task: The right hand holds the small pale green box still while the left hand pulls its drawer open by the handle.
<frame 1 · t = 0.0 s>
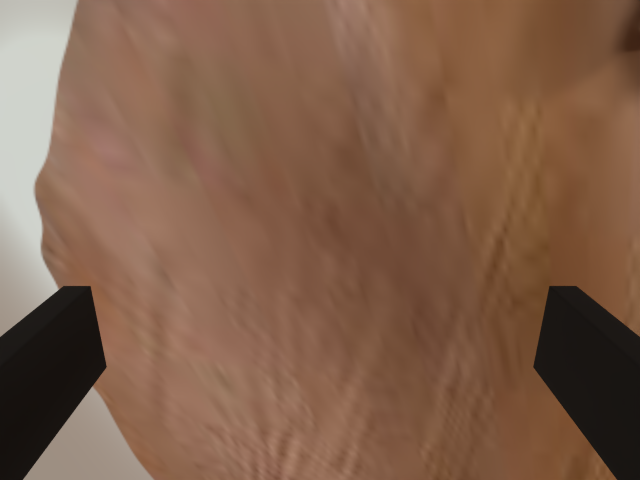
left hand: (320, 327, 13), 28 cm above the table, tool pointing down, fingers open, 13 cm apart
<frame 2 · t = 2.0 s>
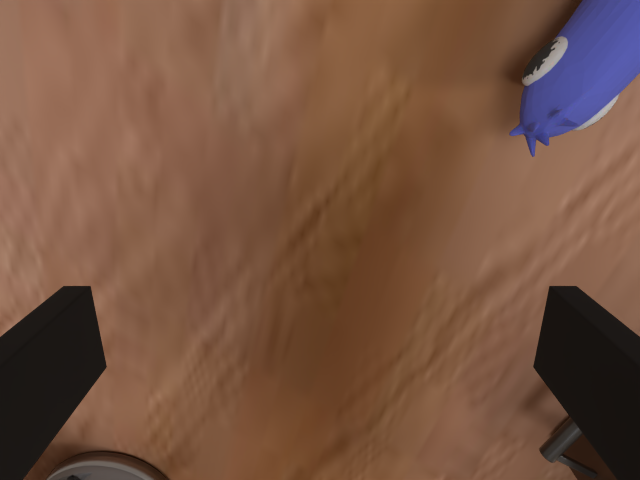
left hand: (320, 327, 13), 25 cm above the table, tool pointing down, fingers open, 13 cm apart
toy: (607, 2, 32), on the table
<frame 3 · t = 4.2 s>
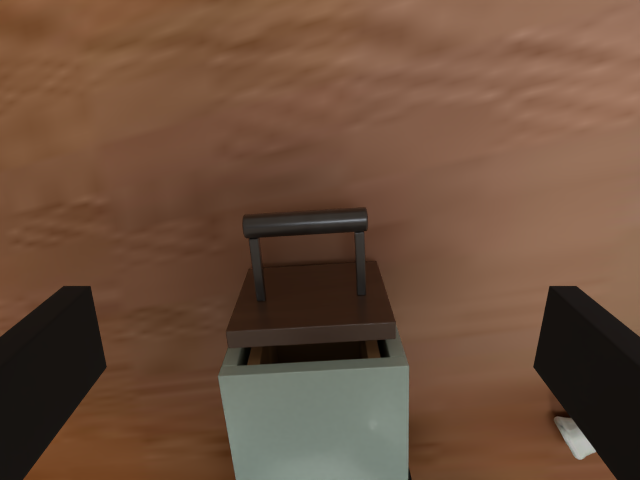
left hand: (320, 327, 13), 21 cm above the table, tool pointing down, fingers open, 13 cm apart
pale green box: (321, 377, 39), on the table, touching right hand
drawer: (316, 357, 32), point 6 cm above the table, slide at 1.2 cm
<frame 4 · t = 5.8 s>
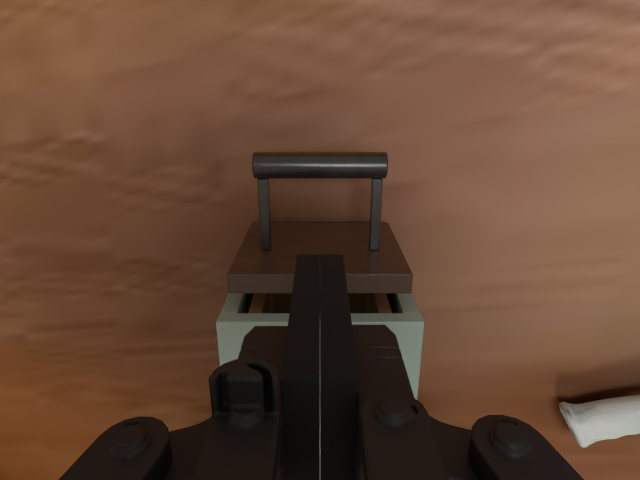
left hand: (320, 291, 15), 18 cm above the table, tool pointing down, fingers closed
pale green box: (319, 346, 37), on the table, touching right hand
drawer: (320, 318, 30), point 6 cm above the table, slide at 1.2 cm
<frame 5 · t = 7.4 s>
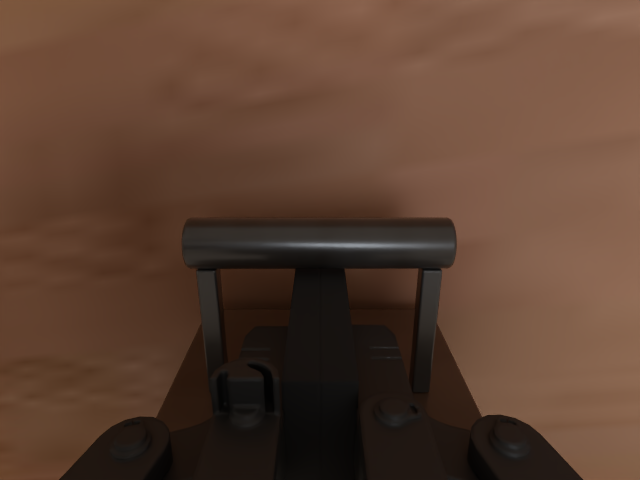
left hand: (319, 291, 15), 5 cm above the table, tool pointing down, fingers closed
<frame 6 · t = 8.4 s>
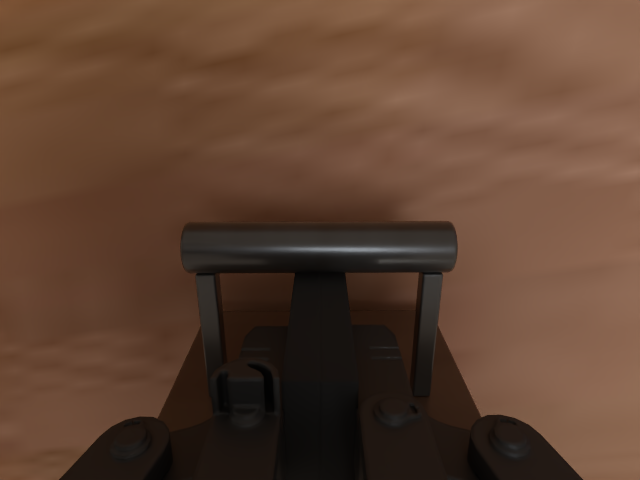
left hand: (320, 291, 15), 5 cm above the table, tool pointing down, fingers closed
when the right hand's fingers open (7 cm above the table, at t = 10.3 s): pale green box stays where it is, on the table.
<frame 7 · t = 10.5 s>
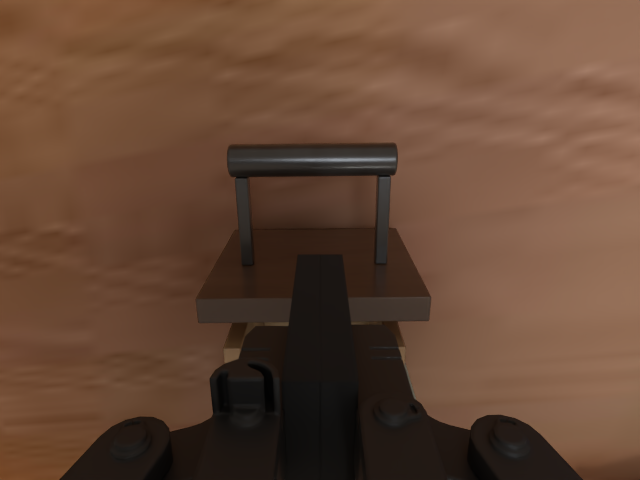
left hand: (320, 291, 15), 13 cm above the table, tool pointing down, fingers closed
drawer: (315, 345, 25), point 6 cm above the table, slide at 7.0 cm
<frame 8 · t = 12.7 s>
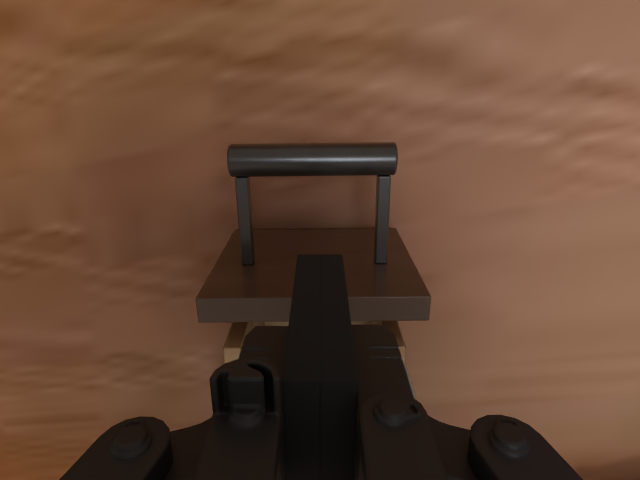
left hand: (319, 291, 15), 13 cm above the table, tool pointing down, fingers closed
drawer: (315, 345, 25), point 6 cm above the table, slide at 7.0 cm
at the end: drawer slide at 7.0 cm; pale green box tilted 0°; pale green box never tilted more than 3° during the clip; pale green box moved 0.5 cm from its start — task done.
